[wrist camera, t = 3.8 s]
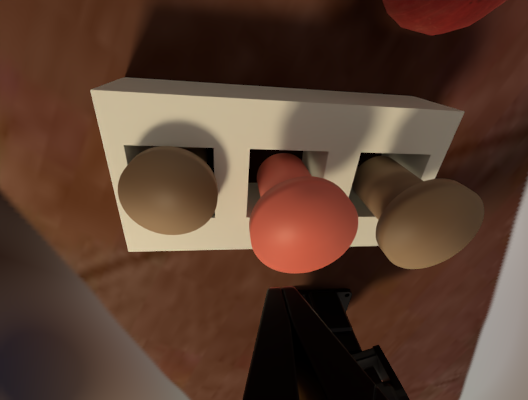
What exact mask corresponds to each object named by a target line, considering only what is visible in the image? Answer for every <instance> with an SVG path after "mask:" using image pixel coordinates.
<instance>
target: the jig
mask: <svg viewBox="0 0 528 400" xmlns="http://www.w3.org/2000/svg"><path fill="white" fill-rule="evenodd" d="M90 91H91V95H92V99H93V104H94V108H95V112H96V116H97V121H98V125H99V129H100V133H101V137H102V142H103V146H104V150H105V154H106V159H107V163H108V167H109V171H110V176H111V180H112V184H113V188H114V192H115V197H116V201H117V205H118V209H119V214H120V218H121V222H122V226H123V231H124V235H125V239H126V243H127V248H128V252H137V251H181V250H224V249H253V248H252V245H251V239H250V231H249V220H250V215H251V212H252V210H253V208H254V206H255V204H256V203H257V201H258V200H259V199H260V193H259V188H258V184H257V183H248V175H249V156H250V149H266V150H298V151H303V156H302V162H303V163H304V165H305V166H306V168H307V170H308V171H309V173H310V174H311V176H314V177H320V178H324V179H327V180H329V181H331V182H333V183H335V184H336V185H337V186H339V187H340V188H341V189H342V190H343V191H344V193H345V194H346V195H347V196H348V198H349V199H350V200H351V202H352V203H353V205H354V206H355V208H356V211H357V215H358V229H357V233H356V236H355V238H354V240H353V242H352V244H351V245H350V247H354V246H379V245H378V243H377V241H376V226H377V223H378V219H377V218H376V217H375V216H374V214H373V213H372V212H371V211H370V210H369V209H368V207H367V206H366V205H365V204H364V203H363V202H362V200H361V199H360V198H359V197H358V196H357V194H356V193H355V192H354V190H353V187H352V183H353V180H354V176H355V172H356V169H357V165H358V161H359V158H360V154H361V152H363V153H382V156H387V157H390V158H392V159H393V160H395V161H396V162H397V163H399V164H400V165H402V166H403V167H405V168H406V169H407V170H409V171H410V172H412V173H413V174H414V175H416V176H417V177H419V178H420V179H421V180H423V181H427V180H431V179H435V177H436V175H437V173H438V170H439V168H440V166H441V164H442V161H443V159H444V157H445V155H446V152H447V150H448V148H449V146H450V143H451V141H452V139H453V137H454V134H455V132H456V130H457V128H458V125H459V123H460V121H461V119H462V116H463V114H464V112H465V111H461V110H458V109H455V108H451V107H448V106H445V105H441V104H438V103H434V102H431V101H428V100H424V99H421V98H418V97H414V96H404V95H389V94H373V93H358V92H343V91H328V90H312V89H297V88H282V87H266V86H251V85H236V84H221V83H205V82H190V81H175V80H160V79H144V78H129V77H124V78H121V79H118V80H116V81H113V82H110V83H107V84H105V85H102V86H99V87H96V88H94V89H91V90H90ZM151 146H173V147H201V148H214V175H215V178H216V180H217V185H218V199H217V206H216V209H215V212H214V214H213V216H212V217H211V218H210V220H209V221H208V222H207V223H206V224H205V225H203V226H202V227H201V228H199V229H197V230H195V231H193V232H190V233H186V234H181V235H165V234H159V233H155V232H152V231H150V230H147V229H145V228H143V227H142V226H140V225H138V224H137V223H136V222H134V221H133V220H132V219H131V218H130V217H129V216H128V215H127V213H126V212H125V211H124V209H123V207H122V205H121V203H120V200H119V197H118V182H119V179H120V176H121V174H122V172H123V170H124V169H125V168H126V166H127V165H128V164H129V163H130V161H131V160H132V159H133V158H134V157H135V156H136V155H138V154H139V153H141V152H142V151H145V150H147V149H150V148H151Z"/></svg>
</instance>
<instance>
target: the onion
mask: <svg viewBox="0 0 528 400" xmlns="http://www.w3.org/2000/svg"><path fill="white" fill-rule="evenodd" d="M382 1H383V4H384V6H385V9H386V12H387V14H388V15H389V16H390V17H391V18H392V19H393V20H394V21H395V22H396V23H397V24H398V25H399V26H400V27H401V28H405V29H408V30H412V31H416V32H420V33H423V34H427V35H431V36H432V35H438V34H443V33H447V32H450V31H454V30H457V29H461V28H464V27H468V26H470V25H472V24H473V23H475V22H476V21H478V20H480V19H481V18H483V17H484V16H485V15H487V14H488V13H490V12H491V11H493V10H494V9H495V8H497V7H498V6H500V5H501V4H502V3H504V2H505V1H506V0H382Z"/></svg>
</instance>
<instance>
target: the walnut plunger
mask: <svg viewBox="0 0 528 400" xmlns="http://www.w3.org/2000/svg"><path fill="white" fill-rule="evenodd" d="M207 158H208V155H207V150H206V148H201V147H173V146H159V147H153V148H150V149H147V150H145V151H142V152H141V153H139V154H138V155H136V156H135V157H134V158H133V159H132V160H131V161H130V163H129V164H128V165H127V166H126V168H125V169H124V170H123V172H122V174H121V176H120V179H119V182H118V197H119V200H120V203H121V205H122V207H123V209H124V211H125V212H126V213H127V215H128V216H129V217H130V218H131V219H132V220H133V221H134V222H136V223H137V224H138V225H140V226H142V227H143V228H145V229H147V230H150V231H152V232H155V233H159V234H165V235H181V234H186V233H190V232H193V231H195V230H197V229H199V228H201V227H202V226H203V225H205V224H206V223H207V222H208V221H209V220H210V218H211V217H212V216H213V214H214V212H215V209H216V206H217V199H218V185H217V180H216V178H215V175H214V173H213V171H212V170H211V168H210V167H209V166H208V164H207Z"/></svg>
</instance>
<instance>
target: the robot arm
mask: <svg viewBox="0 0 528 400" xmlns="http://www.w3.org/2000/svg"><path fill="white" fill-rule="evenodd" d="M351 296H352V293H351V291H350V289H330V290H309V291H297V289H296V288H295V287H293V286H287V287H282V288H280V287H272V288H268V290H267V294H266V298H265V303H264V307H263V311H262V316H261V320H260V325H259V329H258V333H257V338H256V342H255V347H254V351H253V356H252V360H251V364H250V369H249V373H248V378H247V382H246V386H245V391H244V395H243V400H409V398H408V396H407V394H406V392H405V390H404V388H403V387H402V385H401V383H400V381H399V380H398V378H397V376H396V374H395V373H394V371H393V369H392V367H391V366H390V364H389V362H388V360H387V358H386V357H385V355H384V353H383V351H382V350H381V348H380V346H379V345H376V346H373V348H371V349H368V350H365V351H362V350H361V348H360V345H359V343H358V341H357V338H356V336H355V334H354V332H353V329H352V326H351V324H350V322H349V319H348V317H347V315H346V310H347V307H348V304H349V301H350V299H351ZM381 380H383V382H382V381H381Z"/></svg>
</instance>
